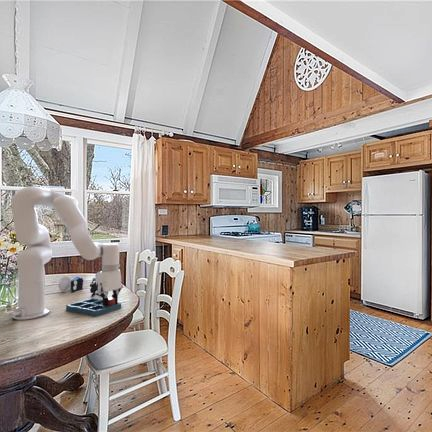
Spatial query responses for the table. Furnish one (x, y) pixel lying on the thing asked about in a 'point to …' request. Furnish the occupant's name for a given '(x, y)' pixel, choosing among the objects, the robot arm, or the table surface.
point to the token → (111, 301)
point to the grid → (92, 307)
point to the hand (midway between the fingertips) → (110, 303)
